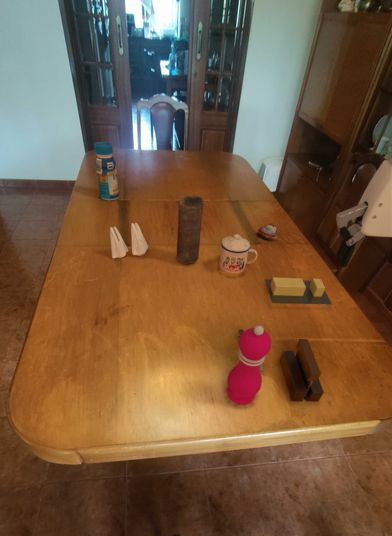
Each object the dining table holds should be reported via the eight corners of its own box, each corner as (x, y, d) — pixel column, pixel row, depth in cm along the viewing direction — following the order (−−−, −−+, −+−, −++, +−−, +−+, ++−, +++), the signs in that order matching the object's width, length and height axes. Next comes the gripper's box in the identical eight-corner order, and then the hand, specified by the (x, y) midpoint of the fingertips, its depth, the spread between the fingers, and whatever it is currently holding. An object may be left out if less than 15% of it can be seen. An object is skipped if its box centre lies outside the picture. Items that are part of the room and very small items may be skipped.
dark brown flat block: (296, 363, 77) (307, 339, 71) (307, 397, 70) (321, 373, 64) (288, 363, 77) (298, 338, 71) (299, 397, 70) (311, 373, 64)
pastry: (281, 237, 122) (284, 225, 118) (268, 243, 118) (271, 230, 115) (265, 229, 126) (268, 217, 122) (252, 234, 122) (255, 221, 119)
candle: (202, 263, 105) (208, 202, 91) (183, 268, 102) (186, 206, 88) (190, 252, 110) (194, 192, 95) (172, 257, 107) (173, 196, 92)
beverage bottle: (99, 193, 139) (91, 140, 125) (118, 193, 141) (113, 140, 127) (100, 201, 134) (92, 147, 119) (120, 200, 136) (115, 147, 121)
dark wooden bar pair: (303, 360, 78) (308, 351, 75) (318, 401, 70) (324, 392, 67) (279, 360, 77) (283, 350, 75) (291, 401, 69) (296, 392, 67)
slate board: (318, 284, 102) (320, 280, 101) (330, 307, 93) (332, 304, 92) (263, 282, 100) (264, 278, 99) (271, 306, 92) (272, 302, 91)
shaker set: (148, 251, 108) (146, 219, 100) (149, 258, 106) (147, 225, 98) (112, 252, 107) (108, 220, 99) (112, 258, 104) (107, 226, 96)
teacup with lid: (218, 275, 101) (223, 241, 93) (217, 260, 107) (221, 227, 99) (255, 277, 102) (263, 244, 93) (252, 262, 108) (259, 229, 99)
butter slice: (317, 287, 98) (320, 278, 96) (321, 296, 95) (325, 287, 93) (309, 287, 98) (312, 278, 96) (313, 296, 95) (317, 287, 92)
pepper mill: (217, 390, 70) (230, 323, 55) (240, 375, 73) (258, 308, 59) (241, 413, 66) (261, 347, 52) (263, 395, 70) (288, 329, 55)
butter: (298, 287, 98) (302, 278, 95) (302, 296, 94) (306, 287, 92) (270, 286, 97) (272, 277, 95) (273, 295, 94) (275, 286, 91)
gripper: (465, 151, 47) (403, 255, 59) (353, 143, 46) (313, 251, 58) (500, 168, 42) (424, 278, 54) (374, 160, 41) (326, 274, 53)
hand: (367, 264), depth 56 cm, fingers open, 9 cm apart
